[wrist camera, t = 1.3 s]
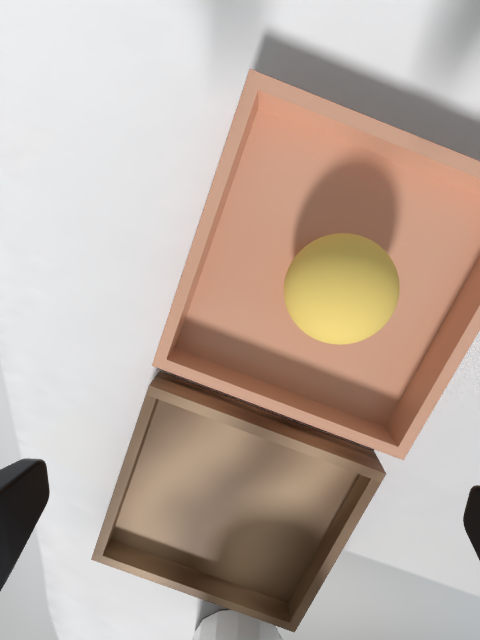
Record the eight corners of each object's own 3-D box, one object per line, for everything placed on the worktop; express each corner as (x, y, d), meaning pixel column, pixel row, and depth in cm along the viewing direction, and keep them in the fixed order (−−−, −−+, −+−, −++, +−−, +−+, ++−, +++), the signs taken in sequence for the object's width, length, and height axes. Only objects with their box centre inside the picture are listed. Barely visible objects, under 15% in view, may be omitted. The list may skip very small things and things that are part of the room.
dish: (515, 200, 16) (559, 193, 14) (386, 433, 20) (403, 460, 17) (251, 94, 16) (250, 68, 14) (165, 350, 20) (151, 365, 17)
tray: (374, 451, 20) (386, 474, 18) (291, 599, 23) (294, 632, 21) (160, 371, 20) (149, 385, 18) (105, 532, 23) (91, 559, 21)
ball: (393, 255, 17) (446, 260, 12) (351, 341, 18) (384, 378, 13) (302, 219, 17) (320, 211, 12) (266, 309, 18) (268, 334, 13)
